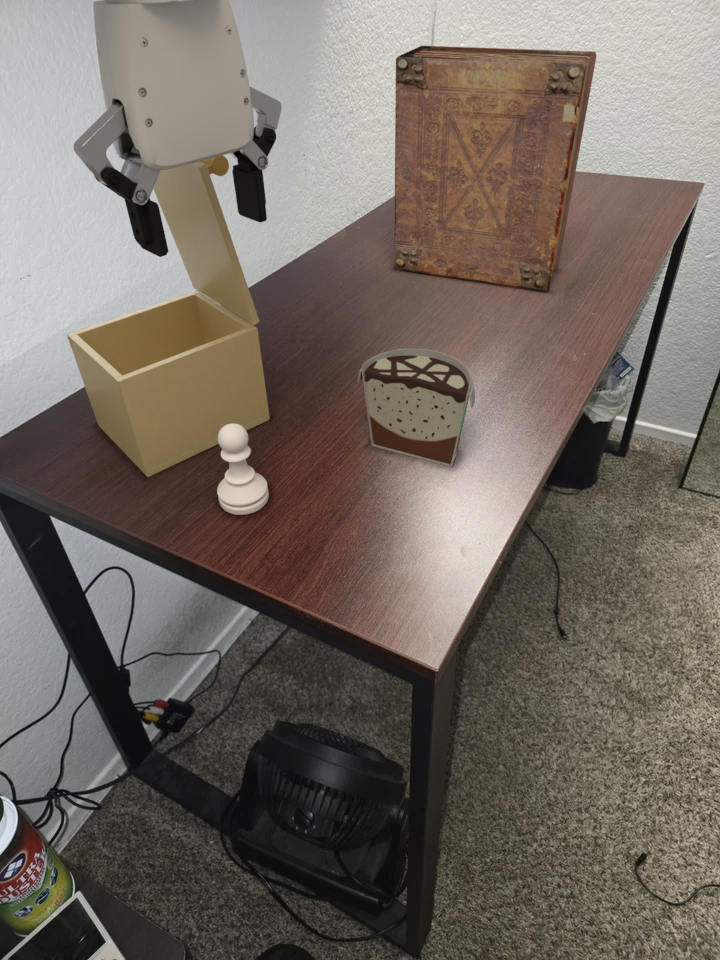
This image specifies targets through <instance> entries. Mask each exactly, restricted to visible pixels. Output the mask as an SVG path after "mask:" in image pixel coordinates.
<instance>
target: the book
mask: <svg viewBox="0 0 720 960" xmlns="http://www.w3.org/2000/svg"><path fill="white" fill-rule="evenodd" d="M597 57H598V56H597V53H596V51H594V50H593V51H590V50H588V51H587V50H563V49H561V50H560V49H531V48H500V47H499V48H498V47H473V46H471V47H470V46H446V45H445V46H440V45H420V46H418V47H416V48H414V49H410V50H409V51H407V52H405V53H402V54H400V55H397V57H396V58H395V107H394V108H395V111H394V112H395V113H394V115H395V117H394V119H395V122H394V124H395V128H394V129H395V131H394V132H395V133H394V134H395V136H394V150H395V151H394V155H395V156H394V250H393V251H394V256H393V257H394V261H393V265H394V267H393V268H394V269H395V270H399V271H406V272H410V273H411V272H412V273H418V274H425V275H431V276H437V277H443V278H448V279H449V278H451V279H456V280H463V281H468V282H469V281H470V282H477V283H482V284H489V285H496V286H502V287H508V288H515V289H522V290H528V291H534V292H539V293H540V292H541V293H548V292H549V291H550V290H551V284H552V278H553V273H554V271H557V270H558V269H559V267H560V261H561V260H560V259H561V255H562V250H563V244H564V239H565V233H566V228H567V227H566V226H567V221H568V218H569V217H568V216H569V211H570V204H571V199H572V193H573V189H574V183H575V178H576V172H577V166H578V161H579V155H580V150H581V146H582V145H581V143H582V138H583V133H584V128H585V122H586V117H587V110H588V105H589V100H590V95H591V94H590V93H591V88H592V84H593V78H594V72H595V67H596V61H597Z"/></svg>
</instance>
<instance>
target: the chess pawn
mask: <svg viewBox="0 0 720 960" xmlns="http://www.w3.org/2000/svg"><path fill="white" fill-rule="evenodd" d="M218 443H219V444H218V445H219V448H221V451H220V458H221V459H222V460H223V461H225V462H228V469H227V470H226V471H225V473H224V478H223V479H221V480H220V482H219V483H218V485H217V488H216V494H217V498H218V504H219V505H220V507H221V508H222V509H223V510H224V511H225V512H227V513H228V514H230V515H231V514H232V515H234V516H245V515H246V516H247V515H250V514H254V513H256V512H258V511H260V510H261V509H262V508H263V507H265V505H266V504H267V503H268V501H269V498H270V492H269V488H268V482H267V479H266V478H265V477H264V476H263V475H262V474H260V473H258V472H256V471H255V469H254V468H253V467H252V466H251V465H248V462H247V459H248V458H249V456H251V453H252V449H251V447H250V445H248V443H249V434H248V430H247V431H246V430H245V428H243V427H242V426H241V425H239V424H234V423H232V424H227V425H225V426H224V427H222V428H221V430H220V431H219V433H218Z"/></svg>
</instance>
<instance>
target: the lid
mask: <svg viewBox="0 0 720 960" xmlns="http://www.w3.org/2000/svg"><path fill="white" fill-rule="evenodd" d="M229 169H230V163H229V160H228V159H227V157H226V156H225V155H222V156H218V157H215V158H211V159H207V160H204V161H200V162H196V163H192V164H188V165H184V166H181V167H177V168H173V169H168V170H160V173H159V175H158V178H157V180H156V183H155V185H154V188H153V191H154V194H155V196H156V199H157V201H158V205H159V207H160V210H161V211H162V214H163V216H164V219H165V221H166V223H167V226H168V228H169V231H170V233H171V236H172V238H173V241H174V243H175V246H176V248H177V250H178V253H179V254H180V258H181V260H182V262H183V265H184V267H185V270H186V272H187V275H188V277H189V279H190V282H191V284H192V288H193V289H195V291H199V292H201V293H202V294H204V295H205V296H207V297H209V298H210V299H212V300H213V301H215V302H217V303H218V304H220V305H221V306H223V307H225V308H226V309H228V310H229V311H231V312H233V313H234V314H236V315H237V316H239V317H241V318H242V319H244V320H245V321H247V322H248V323H250V324H252V325H253V326H256V325H258V324H259V323H260V318H259V316H258V313H257V310H256V309H257V308H256V307H255V304H254V301H253V298H252V295H251V292H250V289H249V286H248V283H247V280H246V277H245V274H244V271H243V268H242V265H241V263H240V259H239V257H238V254H237V251H236V247H235V245H234V242H233V239H232V236H231V233H230V231H229V227H228V224H227V221H226V219H225V215H224V212H223V210H222V206H221V204H220V201H219V198H218V195H217V191H216V189H215V186H214V182H213V180H212V176H211V175H215V176H218V177H224V176H225V175H226V174H227V173H228V172H229Z"/></svg>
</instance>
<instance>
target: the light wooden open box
mask: <svg viewBox="0 0 720 960" xmlns="http://www.w3.org/2000/svg"><path fill="white" fill-rule="evenodd" d="M66 336H67V339H68V342H69V346H70V349H71V352H72V354H73V356H74V359H75V362H76V365H77V368H78V372H79V374H80V376H81V380H82V382H83V385H84V389H85V391H86V394H87V398H88V400H89V402H90V403H89V404H90V406H91V409H92V411H93V414H94V417H95V420H96V422H97V425H98V427H99V428H100V429H101V430H102V431H103V432H104V433H105V434H106V435H107V437H109V439H111V441H112V442H113V443H114V444H115V445H116V446H117V447H118V448H119V449H120V450H121V451H122V452H123V453H124V454H125V455H126V456H127V457H128V459H130V460H131V462H132V463H133V464H134V465H135V466H136V467H137V468H138V469H139V470H140V471H141V472H142V473H143V474H144V475H145V476H146V477H147V478H149V477H152V476H154V475H156V474H158V473H160V472H162V471H164V470H167V469H169V468H170V467H173V466H175V465H177V464H179V463H181V462H184V461H185V460H188V459H190V458H192V457H194V456H196V455H198V454H200V453H202V452H204V451H207V450H209V449H211V448H213V447H215V446H218V445H219V443H218V433H219V431H220V430H221V428H222V427H224V426H225V425H227V424H232V423H234V424H239V425H241V426H242V427H243V428H245V430H246V431H247V432H248V431H250V430H251V429H253V428H255V427H257V426H259V425H262V424H264V423H266V422H269V420H271V418H270V417H271V416H270V409H269V403H268V395H267V388H266V381H265V373H264V366H263V358H262V351H261V345H260V344H261V343H260V337H259V330H258V327H257V326H256V325H252V324H251V323H249V322H248V321H246V320H244V319H243V318H241V317H240V316H238V315H236V314H235V313H233V312H232V311H230V310H228V309H227V308H225V307H224V306H222V305H220V304H219V303H217V302H216V301H214V300H212V299H211V298H209V297H208V296H206V295H204V294H203V293H201V292H200V291H198V290H194V291H191V292H189V293H185V294H183V295H180V296H176V297H173V298H170V299H167V300H165V301H162V302H159V303H158V302H157V303H156V304H153V305H150V306H147V307H143V308H141V309H137V310H135V311H132V312H129V313H126V314H123V315H120V316H117V317H114V318H111V319H107V320H105V321H103V322H99V323H96V324H92V325H91V326H90V325H89V326H88V327H85V328H81V329H78V330H75V331H72V332H70V333H67V334H66Z"/></svg>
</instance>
